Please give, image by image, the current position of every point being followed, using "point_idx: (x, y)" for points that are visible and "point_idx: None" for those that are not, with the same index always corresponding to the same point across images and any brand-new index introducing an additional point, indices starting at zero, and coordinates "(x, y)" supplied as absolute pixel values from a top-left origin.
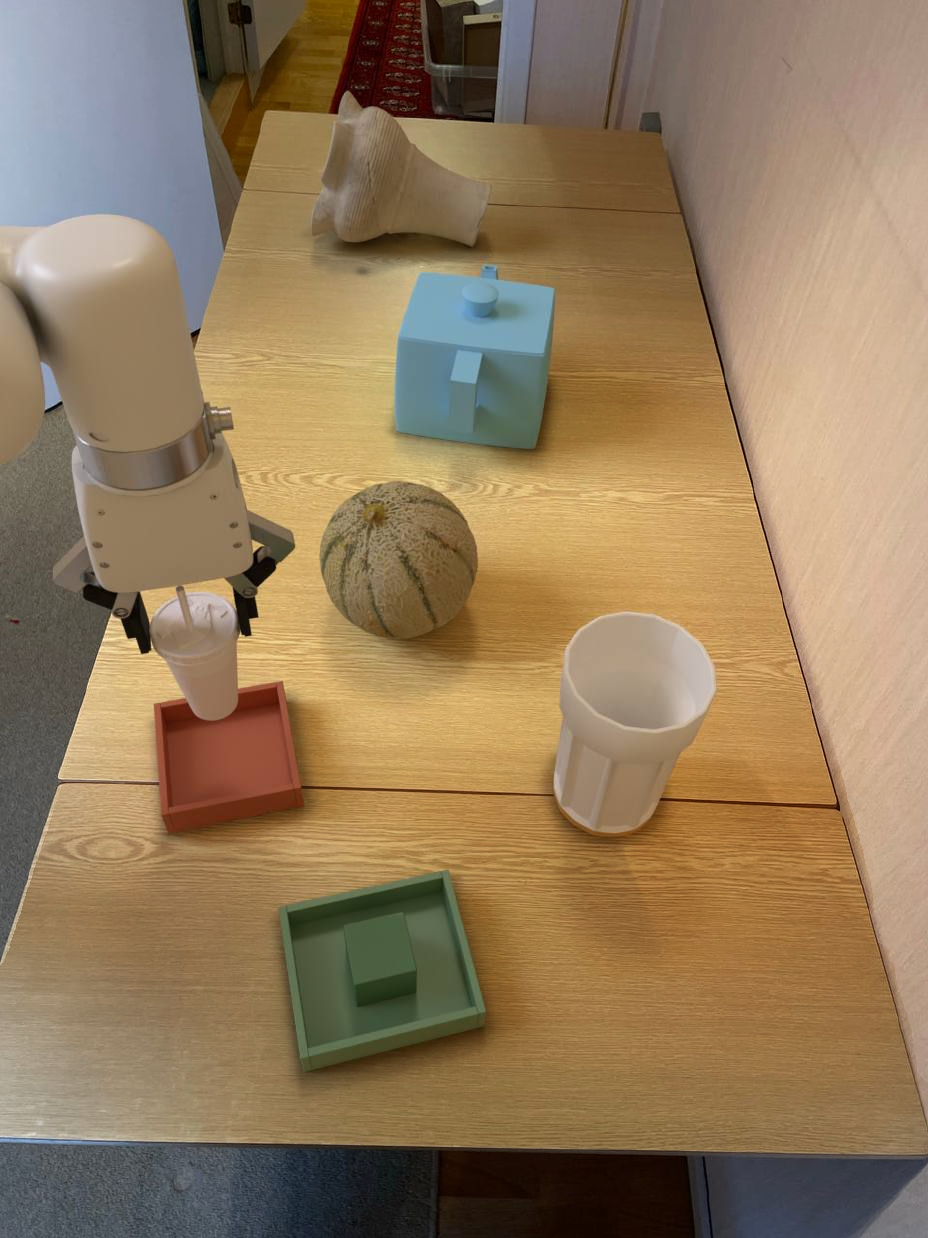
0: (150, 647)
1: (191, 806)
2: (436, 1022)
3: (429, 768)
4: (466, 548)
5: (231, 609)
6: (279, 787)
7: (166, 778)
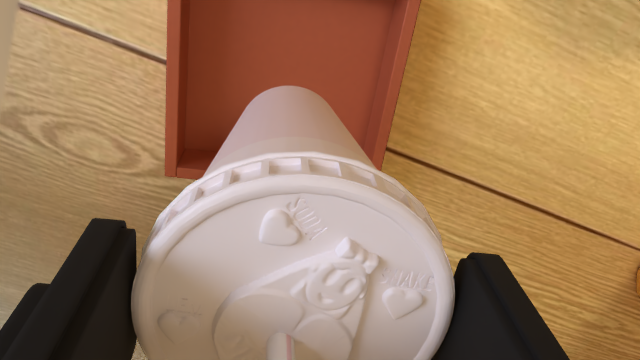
0: (132, 346)
1: None
2: None
3: (542, 173)
4: None
5: (441, 298)
6: None
7: (178, 115)
